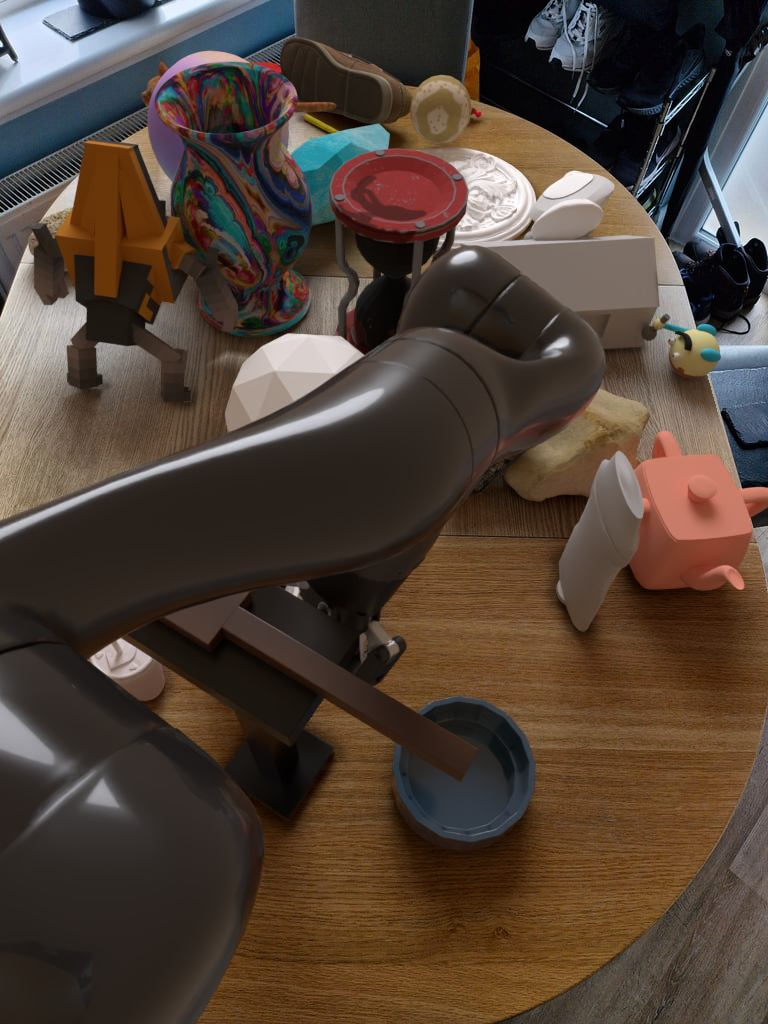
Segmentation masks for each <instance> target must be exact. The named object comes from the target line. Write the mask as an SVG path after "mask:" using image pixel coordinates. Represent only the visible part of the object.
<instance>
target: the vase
mask: <svg viewBox="0 0 768 1024" xmlns="http://www.w3.org/2000/svg"><path fill="white" fill-rule="evenodd" d="M252 63H253V62H250V63H245V62H215V63H208V64H203V65H198V66H195V67H192V68H189V69H186V70H184V71H182V72H180V73H178V74H176V75H174V76H173V77H171V78H170V79H169V80H167V81H166V82H165V83H164V84H163V85H162V86H161V87H160V89H159V90H158V92H157V94H156V96H155V109H156V112H157V114H158V116H159V118H160V120H161V121H162V122H163V124H165V125H166V126H167V127H168V128H169V129H171V130H172V131H174V132H176V133H177V134H178V135H179V136H180V137H181V139H182V141H183V145H184V151H183V154H182V157H181V160H180V163H179V166H178V168H177V171H176V173H175V176H174V179H173V181H171V184H170V189H169V190H170V216H173V217H180V220H181V225H182V230H183V235H184V240H185V242H186V243H187V244H189V245H190V246H192V247H193V248H194V249H196V250H197V251H196V252H195V254H194V255H195V256H196V257H198V258H199V259H200V260H202V261H203V262H205V259H206V251H207V248H208V246H209V247H213V248H218V249H219V251H218V262H217V265H218V267H219V269H220V271H221V273H222V275H223V277H224V279H225V281H226V283H227V284H228V286H229V288H230V290H231V292H232V294H233V296H234V298H235V300H236V302H237V304H238V322H237V327H234V328H233V332H232V333H230V332H226V331H222V329H223V323H224V321H216V320H215V318H214V316H213V314H212V313H211V311H210V309H209V307H208V305H207V303H206V302H205V300H204V298H203V296H202V294H201V293H200V292H199V293H198V301H197V303H198V304H197V305H198V308H199V311H200V314H201V316H202V317H203V318H204V320H205V321H207V323H208V324H209V325H211V326H212V327H214V328H215V329H217V330H218V331H221V332H223V333H225V334H229V335H233V336H237V337H245V338H259V337H265V336H271V335H275V334H279V333H281V332H283V331H286V330H287V329H288V330H289V328H292V327H293V326H295V325H296V324H297V323H298V322H300V321H301V320H302V319H303V318H304V317H305V315H306V314H307V313H308V311H309V310H310V307H311V303H312V298H313V297H312V296H313V295H312V289H311V287H310V285H309V283H308V281H307V280H306V278H305V277H304V276H303V275H302V274H301V273H300V272H298V271H297V270H295V269H294V268H293V267H294V266H295V265H296V263H297V262H298V260H299V259H300V257H301V256H302V255H303V253H304V252H305V249H306V248H307V245H308V242H309V238H310V235H311V230H312V226H311V225H312V200H311V196H310V192H309V188H308V184H307V180H306V177H305V175H304V173H303V172H302V170H301V169H300V167H299V166H298V165H297V163H296V162H295V160H294V159H293V158H292V156H291V153H290V152H289V150H288V148H287V149H286V147H285V146H284V144H283V143H282V141H281V130H282V128H283V126H284V125H285V124H286V123H287V122H288V123H289V121H290V120H291V119H292V117H293V116H294V114H295V113H294V112H295V110H296V107H297V103H298V100H297V92H296V89H295V87H294V86H293V84H292V83H291V82H290V81H289V80H288V79H287V78H285V77H284V76H283V75H281V74H279V73H278V72H276V71H274V70H272V69H269V68H267V67H264V66H260V65H257V64H252Z"/></svg>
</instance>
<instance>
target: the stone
mask: <svg viewBox="0 0 768 1024" xmlns="http://www.w3.org/2000/svg"><path fill="white" fill-rule="evenodd" d="M650 418H651V413H650V410H649V409H648V408H647V407H646V406H645V405H643V404H642V403H641V402H639V401H636V400H633V399H628V398H625V397H622V396H618V395H615V394H613V393H610V392H609V391H606V390H604V389H601V388H599V390H598V392H597V394H596V396H595V398H594V399H593V401H592V402H591V404H590V405H589V406H588V407H587V408H586V410H585V411H584V412H583V413H582V414H581V415H580V416H579V417H578V418H577V419H576V420H575V421H574V422H573V423H572V424H570V425H569V426H568V427H567V428H566V429H564V430H563V431H562V432H560V433H559V434H557V435H556V436H554V437H552V438H551V439H549V440H547V441H545V442H543V443H541V444H539V445H538V446H536V447H534V448H532V449H529V450H527V451H526V452H525V453H524V454H523V455H522V456H521V457H520V458H519V459H518V460H516V461H515V462H514V463H513V464H512V465H511V466H510V467H509V468H508V469H507V470H505V471H504V472H503V473H502V475H503V477H504V480H505V482H506V483H507V484H508V485H509V486H510V487H511V488H512V489H513V490H514V491H515V492H516V493H517V495H519V496H520V497H521V498H523V499H525V500H528V501H532V502H533V501H535V502H543V501H544V500H546V499H549V498H554V497H556V496H563V495H564V496H565V495H566V496H567V495H569V496H584V497H587V498H589V497H590V493H591V487H592V484H593V482H594V479H595V476H596V474H597V471H598V469H599V467H600V465H601V463H602V461H603V460H605V459H606V460H610V459H611V458H612V457H613V456H614V455H615V453H616V452H617V451H621V452H622V453H623V454H624V455H625V456H626V457H627V459H628V461H629V462H630V464H631V466H632V468H633V470H634V469H636V468H637V467H638V466H639V465H640V464H641V461H639V459H636V457H637V456H638V455H637V454H638V448H639V445H640V442H641V439H642V436H643V431H644V429H645V428H646V426H647V424H648V422H649V420H650ZM509 458H510V457H509ZM507 460H508V459H507V458H506V459H503V461H504V462H506V461H507Z"/></svg>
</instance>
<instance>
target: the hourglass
mask: <svg viewBox="0 0 768 1024" xmlns="http://www.w3.org/2000/svg"><path fill="white" fill-rule="evenodd" d="M416 150H417V149H407V148H388V149H382V150H375V151H372V152H368V153H364V154H360V155H358V156H356V157H354V158H352V159H351V160H349V161H347V162H345V163H344V164H343V165H342V166H341V167H340V168H339V169H338V170H337V171H336V172H335V173H334V174H333V177H332V180H331V183H330V186H329V195H330V202H331V207H332V211H333V213H334V214H335V220H334V223H335V256H336V257H335V258H336V264H337V266H338V268H339V270H340V271H341V272H343V273H344V274H345V275H346V278H347V281H348V288H347V291H346V292H345V293H344V295H343V296H342V297H341V298H340V301H339V304H338V306H337V317H338V318H337V326H336V330H335V334H334V336H341V337H343V338H344V339H345V340H346V341H347V342H349V343H350V344H351V345H352V346H354V347H355V348H356V349H357V350H358V351H360V352H361V353H362V354H363V355H366V354H367V353H368V352H370V351H371V350H373V349H374V348H376V347H377V346H379V345H380V344H381V343H383V342H384V341H386V340H388V339H389V338H391V337H393V336H395V334H396V331H397V327H398V323H399V319H400V316H401V313H402V310H403V307H404V305H405V302H406V300H407V298H408V296H409V294H410V292H411V290H412V288H413V286H414V284H415V283H416V281H417V280H418V278H419V277H420V276H421V274H422V268H423V266H424V265H426V264H427V263H428V261H429V260H430V259H431V261H430V264H431V263H432V262H434V261H435V260H436V259H437V258H439V257H440V256H442V255H444V254H445V253H447V252H449V251H450V249H451V247H452V245H453V243H454V237H455V229H456V226H457V225H458V224H459V222H460V221H461V219H462V218H463V217H464V215H465V214H466V207H467V201H468V194H469V189H468V186H467V184H466V181H465V178H464V177H463V176H462V175H461V174H460V172H459V171H458V170H457V169H456V168H455V167H454V166H453V165H451V164H449V163H448V162H446V161H444V160H442V159H441V158H439V157H437V156H434V155H431V154H427V153H424V152H421V151H416ZM346 228H347V229H349V230H351V231H352V232H353V235H354V241H355V245H356V248H357V250H358V251H359V254H360V255H361V256H362V258H363V259H364V260H365V262H366V263H368V264H369V265H370V266H371V267H372V281H370V282H369V283H368V284H366V286H365V287H364V288H363V290H362V291H361V292H360V294H359V295H358V297H357V299H356V302H355V306H354V308H353V309H351V310H350V311H348V312H347V310H348V307H349V305H350V303H352V300H354V298H355V297H356V296H357V294H358V290H359V287H360V283H361V281H360V279H359V275H358V272H357V271H356V270H355V269H354V268H353V267H351V266H350V264H349V263H348V261H347V259H346V256H347V255H346ZM445 233H446V238H445V240H444V242H443V244H442V246H441V248H440V249H439V250H438V251H436V249H437V247H438V243H439V239H440V236H442V235H443V234H445ZM431 257H432V258H431ZM410 274H411V277H409V276H408V275H410Z"/></svg>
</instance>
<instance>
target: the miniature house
mask: <svg viewBox="0 0 768 1024" xmlns="http://www.w3.org/2000/svg"><path fill="white" fill-rule="evenodd" d="M460 245H461V247H463V246H467V245H478V246H483V247H486V248H489V249H491V250H492V251H494V252H496V253H498V254H499V255H500V256H502V257H503V258H505V259H506V260H507V261H509V262H510V263H511V264H512V265H514V266H515V267H516V268H518V269H519V270H520V271H521V272H522V273H523V275H527V276H528V277H529V278H530V279H532V280H533V281H534V282H535V283H537V284H538V285H539V286H541V287H542V288H543V289H544V290H546V291H547V292H548V293H550V294H551V295H552V296H553V297H555V298H556V299H557V300H558V301H560V302H561V303H562V304H564V305H565V307H568V308H569V309H571V310H572V311H573V312H574V313H576V314H577V315H578V316H580V317H581V318H582V319H583V320H585V321H586V322H587V323H588V324H589V325H590V326H591V327H592V328H593V330H594V331H595V332H596V334H597V335H598V337H599V339H600V341H601V343H602V346H603V349H604V350H611V349H628V348H641V347H642V345H643V342H644V339H643V338H642V335H641V333H642V330H643V329H644V328H645V327H647V326H651V324H652V321H653V319H654V316H655V315H656V312H657V309H658V308H660V295H659V294H660V293H659V280H658V267H657V257H656V256H657V254H656V242H655V237H651V236H642V235H631V234H621V235H601V236H600V235H598V236H589V237H580V238H578V239H575V240H541V241H536V240H535V239H534V240H523V239H516V240H515V239H513V240H511V241H492V242H472V243H460Z"/></svg>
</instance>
